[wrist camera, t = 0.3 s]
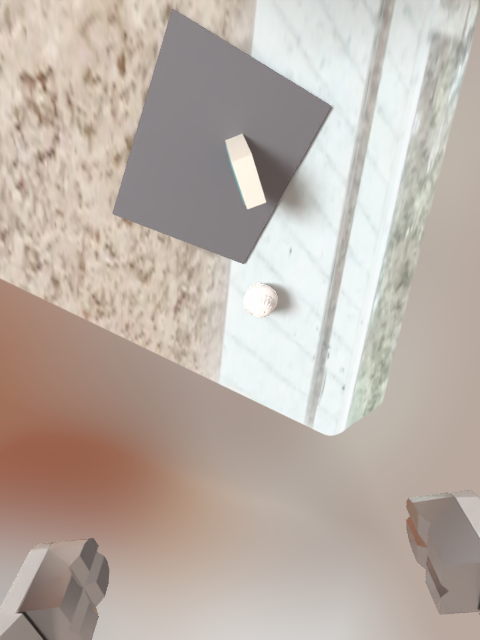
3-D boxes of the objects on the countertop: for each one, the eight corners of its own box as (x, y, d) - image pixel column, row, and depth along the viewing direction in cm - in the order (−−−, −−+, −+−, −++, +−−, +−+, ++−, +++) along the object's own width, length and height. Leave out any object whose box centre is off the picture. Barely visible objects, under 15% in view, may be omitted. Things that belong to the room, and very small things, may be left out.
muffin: (234, 293, 66) (237, 317, 61) (255, 269, 64) (261, 292, 58) (259, 308, 69) (265, 332, 64) (281, 285, 66) (289, 309, 61)
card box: (223, 140, 50) (229, 162, 42) (242, 133, 49) (251, 154, 42) (237, 182, 53) (245, 209, 46) (255, 176, 53) (266, 202, 45)
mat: (172, 8, 41) (172, 8, 41) (330, 105, 49) (331, 105, 48) (112, 212, 55) (112, 213, 54) (243, 262, 63) (243, 264, 62)
